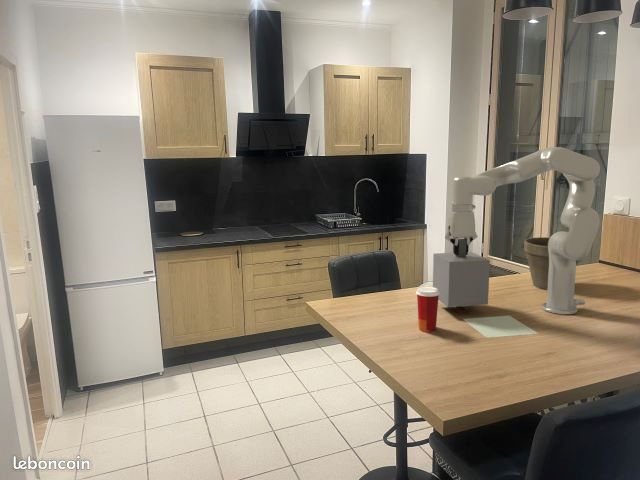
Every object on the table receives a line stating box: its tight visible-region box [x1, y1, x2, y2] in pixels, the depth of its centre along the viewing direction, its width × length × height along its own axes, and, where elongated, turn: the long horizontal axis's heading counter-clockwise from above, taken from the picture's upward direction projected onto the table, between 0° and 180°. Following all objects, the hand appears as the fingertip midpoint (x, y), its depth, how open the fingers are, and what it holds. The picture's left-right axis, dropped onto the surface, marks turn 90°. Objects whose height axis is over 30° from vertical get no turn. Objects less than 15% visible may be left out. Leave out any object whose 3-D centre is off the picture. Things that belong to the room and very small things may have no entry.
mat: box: [462, 315, 539, 339], centre depth 166 cm, size 19×19×1 cm
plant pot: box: [523, 236, 579, 291], centre depth 213 cm, size 25×25×22 cm
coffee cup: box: [415, 286, 440, 333], centre depth 164 cm, size 8×8×15 cm
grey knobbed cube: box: [432, 238, 491, 308], centre depth 181 cm, size 16×16×25 cm
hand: (460, 254), depth 180 cm, fingers closed on grey knobbed cube, 3 cm apart
